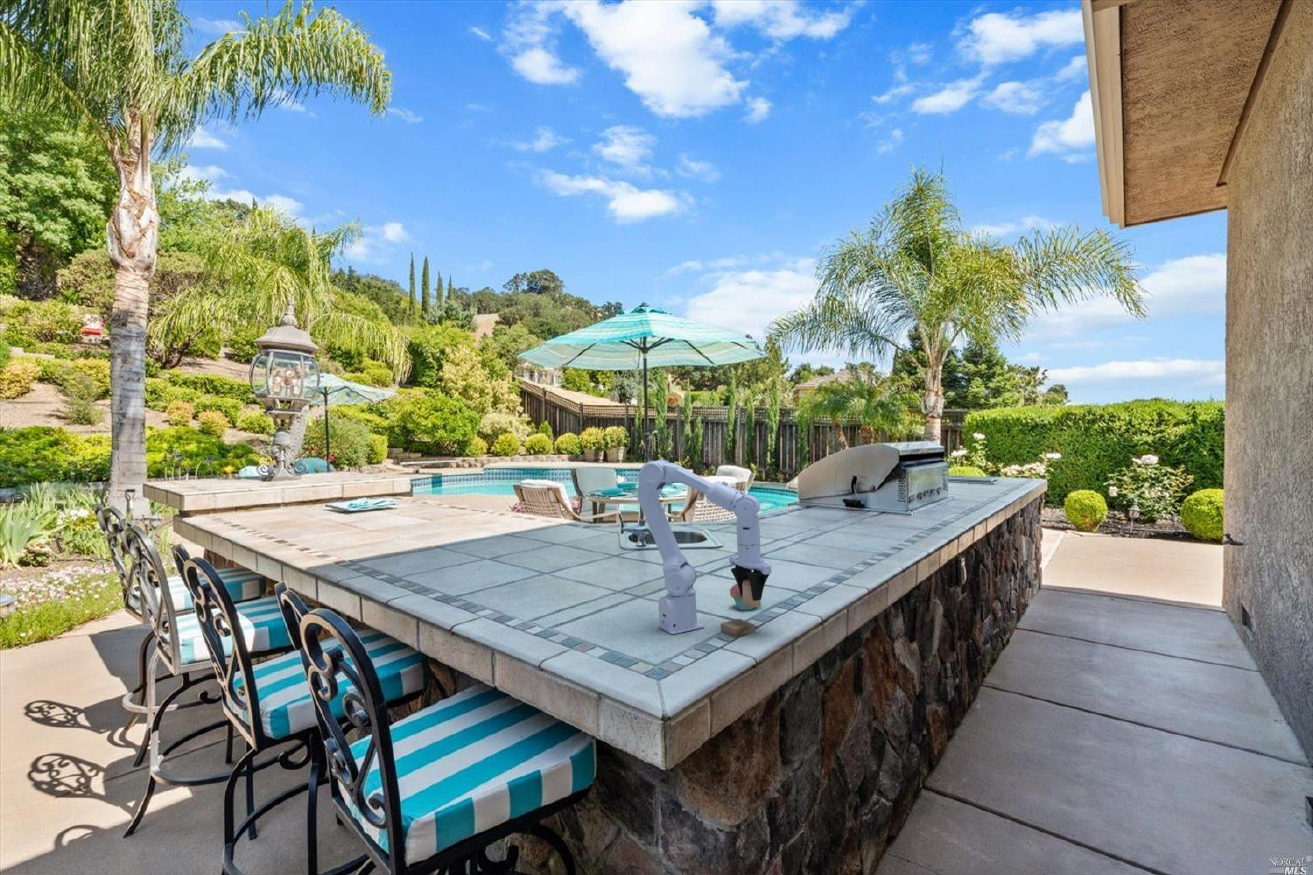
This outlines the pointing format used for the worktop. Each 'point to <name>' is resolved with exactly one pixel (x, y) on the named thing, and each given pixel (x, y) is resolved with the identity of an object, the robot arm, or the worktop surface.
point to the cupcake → (738, 598)
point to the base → (737, 628)
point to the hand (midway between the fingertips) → (750, 597)
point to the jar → (748, 595)
